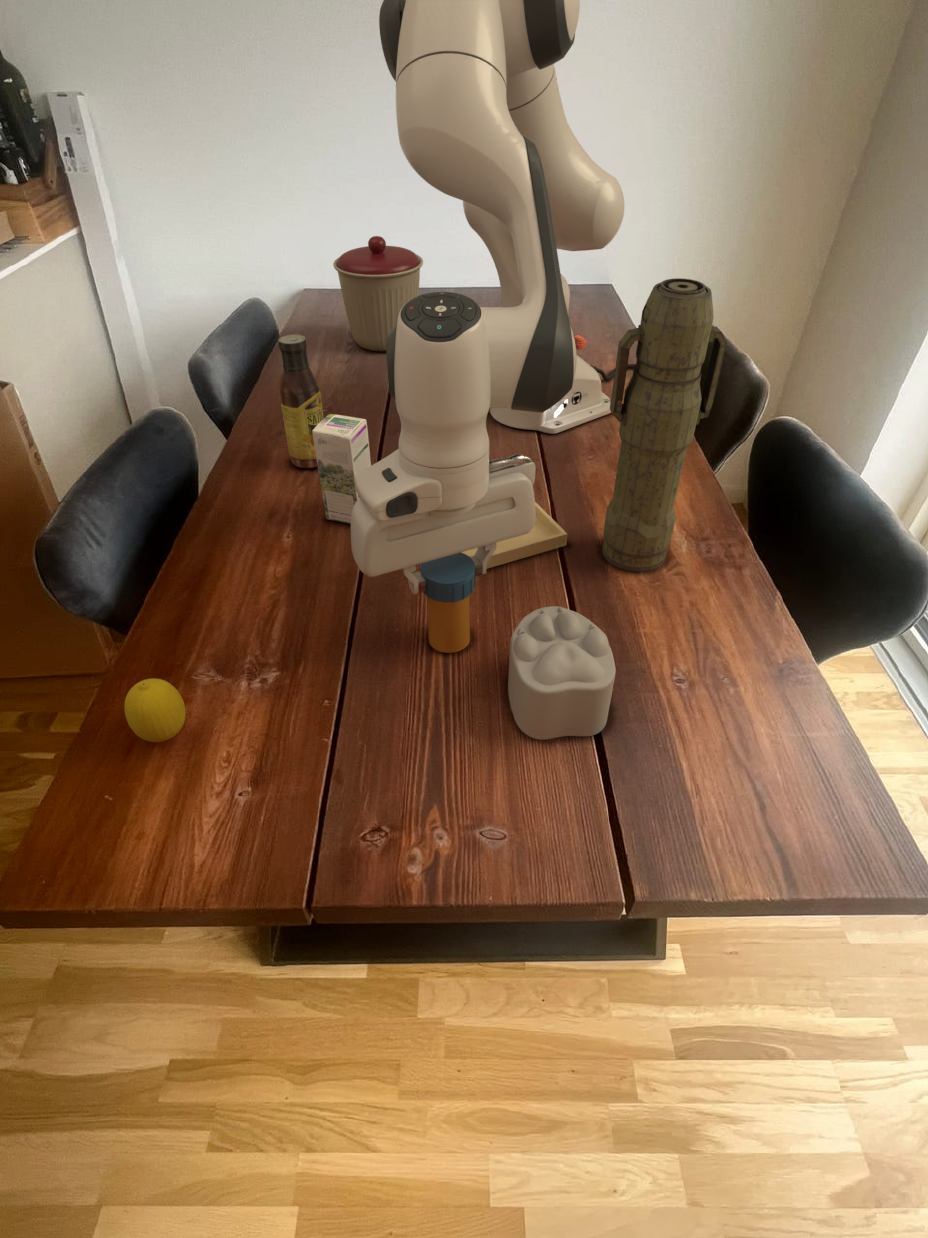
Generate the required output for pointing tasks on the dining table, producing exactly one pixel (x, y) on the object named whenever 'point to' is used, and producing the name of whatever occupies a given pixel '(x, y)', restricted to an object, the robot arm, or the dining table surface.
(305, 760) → the dining table surface
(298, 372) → the sauce bottle
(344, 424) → the syrup box
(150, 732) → the lemon
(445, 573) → the lid
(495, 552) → the tray
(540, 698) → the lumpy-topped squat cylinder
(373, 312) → the canister
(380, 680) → the dining table surface
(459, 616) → the jar
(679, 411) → the thermos
